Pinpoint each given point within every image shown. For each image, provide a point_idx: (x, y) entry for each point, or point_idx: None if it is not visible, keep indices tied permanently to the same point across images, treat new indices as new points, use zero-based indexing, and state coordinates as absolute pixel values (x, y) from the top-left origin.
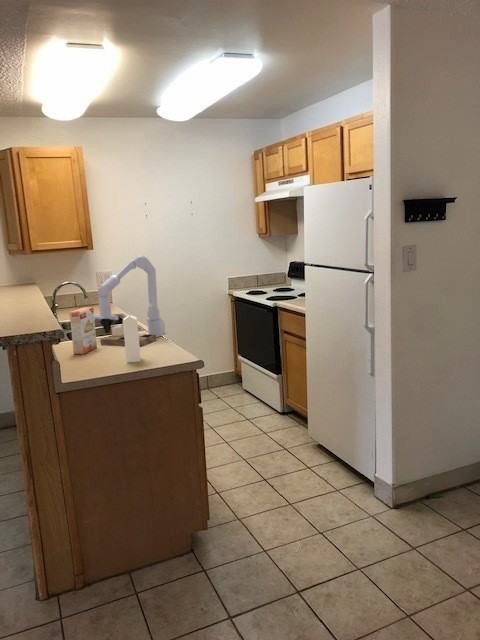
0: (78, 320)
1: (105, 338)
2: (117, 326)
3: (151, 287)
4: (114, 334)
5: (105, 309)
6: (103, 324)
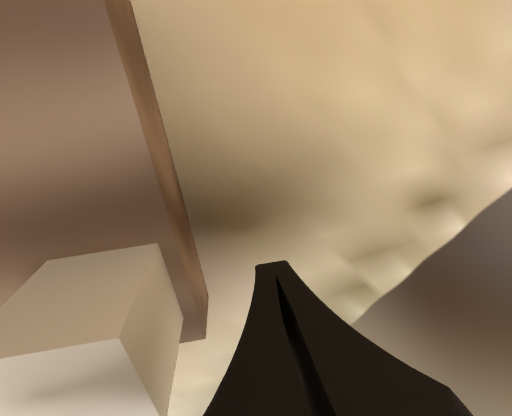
0: None
1: (64, 60)
2: (79, 406)
3: None
4: (114, 259)
5: None
6: (328, 357)
